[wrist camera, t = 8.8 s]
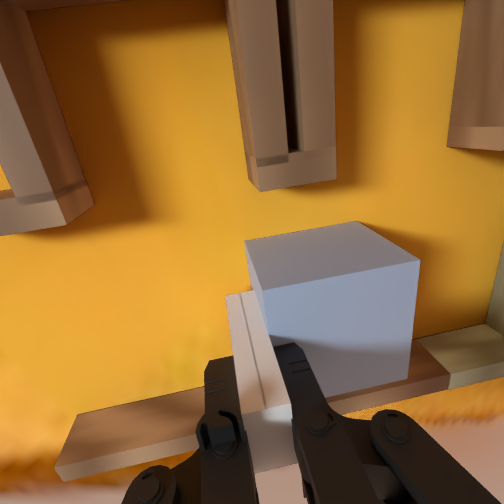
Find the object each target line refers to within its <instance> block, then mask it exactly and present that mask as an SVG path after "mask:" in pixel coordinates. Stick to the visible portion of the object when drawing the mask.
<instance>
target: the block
mask: <svg viewBox="0 0 504 504" xmlns="http://www.w3.org/2000/svg"><path fill="white" fill-rule="evenodd" d="M244 242H245V249H246V256H247V262H248V269H249V275H250V282H251V289H252V290H254V291H255V294H256V297H257V301H258V304H259V307H260V310H261V313H262V316H263V319H264V323H265V326H266V329H267V332H268V334H269V337H270V340H271V344H272V347H274V346H279V345H284V344H288V343H293V342H295V343H296V344H297V345H298V346H299V347H301V348H302V349H303V351H304V353H305V355H306V357H307V360H308V362H309V364H310V366H311V369H312V371H313V373H314V375H315V377H316V379H317V381H318V384H319V386H320V388H321V390H322V392H323V395H324V397H325V398H326V397H331V396H335V395H339V394H344V393H348V392H352V391H357V390H361V389H365V388H369V387H374V386H378V385H382V384H387V383H391V382H395V381H400V380H404V379H407V378H408V369H409V360H410V351H411V342H412V333H413V324H414V315H415V306H416V297H417V288H418V279H419V270H420V261H421V260H420V259H418V258H417V257H415V256H414V255H412V254H410V253H409V252H407V251H405V250H404V249H402V248H400V247H399V246H397V245H395V244H394V243H392V242H391V241H389V240H387V239H386V238H384V237H382V236H381V235H379V234H377V233H376V232H374V231H372V230H371V229H369V228H368V227H366V226H364V225H363V224H361V223H359V222H358V221H354V222H348V223H343V224H337V225H331V226H326V227H320V228H314V229H309V230H303V231H298V232H292V233H286V234H281V235H275V236H270V237H264V238H258V239H253V240H247V241H244Z"/></svg>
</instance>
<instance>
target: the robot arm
mask: <svg viewBox="0 0 504 504" xmlns="http://www.w3.org/2000/svg"><path fill="white" fill-rule="evenodd" d="M225 298H226V305H227V313H228V320H229V327H230V335H231V342H232V349H233V356H229V357H224V358H219V359H215V360H210V361H209V363H208V365H207V367H206V369H205V371H204V383H205V385H204V392H205V395H204V397H205V414H204V415H203V416H202V417H201V419H200V420H199V422H198V423H197V427H196V431H195V433H196V437H197V440H198V443H199V448H198V450H197V451H196V452H195V453H194V454H193V455H192V456H191V457H190V458H188V459H187V460H186V461H184V462H182V463H181V464H179V465H177V466H176V467H174V468H172V469H171V470H170V469H169V468H168V467H166V466H162V465H157V466H152V467H149V468H148V469H146V470H144V471H142V472H141V473H140V474H139V475H138V476H137V477H136V478H135V479H134V480H133V481H132V483H131V485H130V486H129V488H128V490H127V492H126V494H125V497H124V499H123V501H122V504H259V498H258V492H257V488H256V482H255V475H254V474H255V473H259V472H263V471H267V470H271V469H276V468H280V467H284V466H288V465H292V464H296V463H297V460H298V464H299V467H300V471H301V474H302V484H303V494H304V498H307V501H308V504H501V503H500V502H499V501H498V500H497V499H496V498H495V497H494V496H493V495H492V494H491V493H490V492H489V491H488V490H487V489H486V488H484V487H483V486H482V485H481V484H480V483H479V482H478V481H477V480H476V479H475V478H474V477H473V476H472V475H471V474H470V473H469V472H468V471H467V470H465V468H463V467H462V466H461V465H460V464H459V463H458V462H457V461H456V460H455V459H454V458H453V457H452V456H451V455H450V454H449V453H448V452H447V451H445V450H444V448H442V447H441V446H440V445H439V444H438V443H437V442H436V441H435V440H434V439H433V438H432V437H431V436H430V435H429V434H428V433H427V432H426V431H425V430H424V429H423V428H422V427H421V426H419V425H418V424H417V423H416V422H415V421H414V420H413V419H412V418H410V417H409V416H407V415H406V414H404V413H402V412H399V411H397V410H388V409H385V410H382V411H378V412H377V413H376V414H375V415H374V416H373V417H372V420H361V419H352V418H347V417H344V416H342V415H340V414H338V413H337V412H335V411H334V410H333V409H332V408H331V407H330V406H329V404H328V403H327V401H326V399H325V397H324V395H323V392H322V390H321V388H320V386H319V384H318V381H317V379H316V377H315V375H314V373H313V371H312V369H311V366H310V364H309V362H308V360H307V357H306V355H305V353H304V351H303V349H302V348H301V347H299V346H298V345H297V344H296V343H295V342H293V343H288V344H284V345H279V346H274V347H272V344H271V340H270V337H269V334H268V332H267V329H266V326H265V323H264V319H263V316H262V313H261V310H260V307H259V304H258V301H257V297H256V294H255V291H254V290H252V291H247V292H242V293H237V294H231V295H226V296H225Z"/></svg>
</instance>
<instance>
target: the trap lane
mask: <svg viewBox="0 0 504 504" xmlns="http://www.w3.org/2000/svg"><path fill="white" fill-rule="evenodd" d="M115 1H124V0H0V165H1V167H2V169H3V171H4V173H5V175H6V178H7V180H8V182H9V184H10V186H11V188H12V189H10V190H3V191H0V236H4V235H10V234H16V233H22V232H28V231H33V230H39V229H45V228H51V227H57V226H63V225H67V224H69V223H70V222H71V221H73V220H74V219H76V218H77V217H78V216H80V215H81V214H83V213H84V212H85V211H87V210H88V209H89V208H91V207H92V206H94V205H95V204H94V201H93V198H92V196H91V193H90V190H89V187H88V184H87V182H86V179H85V176H84V173H83V170H82V168H81V165H80V162H79V159H78V156H77V154H76V151H75V148H74V145H73V143H72V140H71V137H70V134H69V131H68V129H67V126H66V123H65V120H64V117H63V115H62V112H61V109H60V106H59V104H58V101H57V98H56V95H55V92H54V90H53V87H52V84H51V81H50V78H49V76H48V73H47V70H46V67H45V64H44V62H43V59H42V56H41V53H40V51H39V48H38V45H37V42H36V39H35V37H34V34H33V31H32V28H31V25H30V23H29V20H28V17H27V14H26V12H25V11H32V10H42V9H51V8H60V7H69V6H78V5H87V4H97V3H106V2H115ZM224 4H225V12H226V19H227V26H228V33H229V41H230V48H231V55H232V62H233V70H234V77H235V84H236V91H237V98H238V106H239V113H240V120H241V127H242V135H243V142H244V149H245V156H246V164H247V171H248V178H249V180H250V181H251V182H252V184H253V185H254V186H255V187H256V188H257V189H258V190H259V192H263V191H269V190H275V189H281V188H287V187H293V186H298V185H304V184H310V183H316V182H322V181H328V180H334V179H337V175H336V123H335V71H334V19H333V0H224ZM447 147H460V148H473V149H486V150H498V151H504V0H465V4H464V12H463V20H462V28H461V36H460V44H459V52H458V60H457V68H456V76H455V84H454V92H453V100H452V108H451V116H450V124H449V132H448V140H447ZM500 377H504V244H503V248H502V252H501V257H500V261H499V266H498V270H497V274H496V279H495V283H494V288H493V292H492V297H491V301H490V305H489V310H488V314H487V319H486V323H485V324H481V325H477V326H472V327H468V328H463V329H459V330H454V331H450V332H445V333H441V334H436V335H432V336H427V337H423V338H418V339H415V340H412V342H411V351H410V360H409V369H408V378H407V379H404V380H400V381H395V382H391V383H387V384H382V385H378V386H374V387H369V388H365V389H361V390H357V391H352V392H348V393H344V394H339V395H335V396H331V397H326V398H325V399H326V401H327V403H328V404H329V406H330V407H331V408H332V409H333V410H334V411H335V412H337V413H338V414H340V415H343V414H347V413H351V412H355V411H360V410H364V409H368V408H372V407H376V406H380V405H385V404H389V403H393V402H397V401H401V400H405V399H409V398H414V397H418V396H422V395H426V394H430V393H434V392H438V391H443V390H447V389H448V390H450V389H455V388H459V387H463V386H467V385H471V384H475V383H479V382H484V381H488V380H492V379H496V378H500ZM204 395H205V392H204V387H200V388H196V389H191V390H187V391H182V392H178V393H173V394H169V395H164V396H160V397H155V398H151V399H147V400H142V401H138V402H133V403H129V404H124V405H120V406H115V407H111V408H106V409H102V410H97V411H93V412H88V413H84V414H79V415H77V416H76V419H75V421H74V423H73V426H72V428H71V430H70V432H69V435H68V437H67V439H66V442H65V444H64V446H63V448H62V451H61V453H60V455H59V458H58V460H57V462H56V464H55V467H54V469H55V470H56V472H57V473H58V475H59V476H60V478H61V479H62V481H63V482H65V481H70V480H74V479H78V478H82V477H86V476H90V475H94V474H99V473H103V472H107V471H111V470H115V469H119V468H123V467H128V466H132V465H136V464H140V463H144V462H148V461H152V460H157V459H161V458H165V457H169V456H173V455H177V454H181V453H186V452H190V451H194V450H198V448H199V443H198V440H197V437H196V433H195V431H196V427H197V423H198V422H199V420H200V419H201V417H202V416H203V415H204V414H205V397H204Z"/></svg>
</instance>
